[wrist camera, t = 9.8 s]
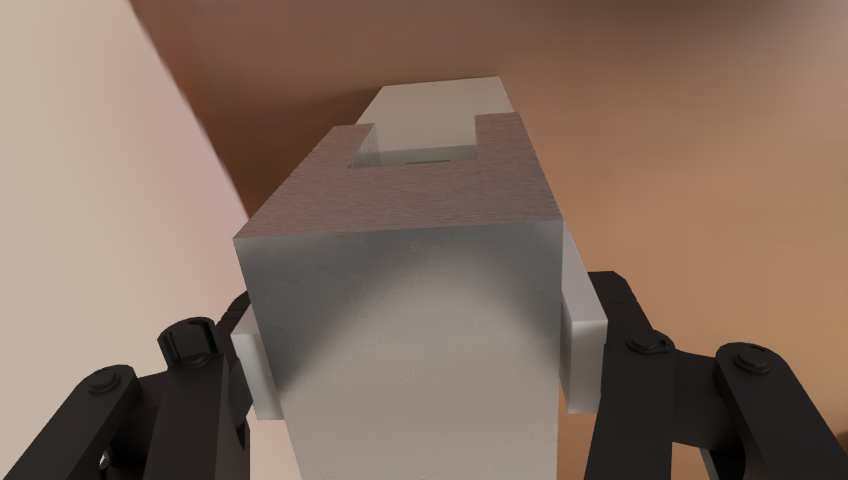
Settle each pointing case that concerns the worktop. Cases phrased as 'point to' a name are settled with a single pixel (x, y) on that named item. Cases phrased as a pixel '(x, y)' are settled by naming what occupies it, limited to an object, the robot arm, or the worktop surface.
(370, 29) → the worktop surface
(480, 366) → the pale grey block
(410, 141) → the white blocky piece
